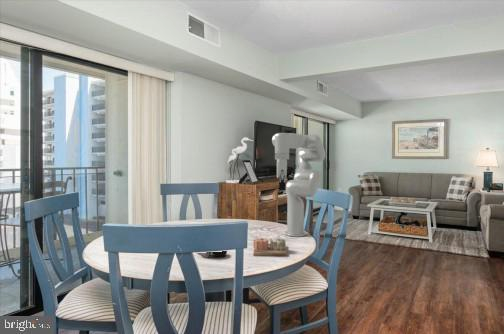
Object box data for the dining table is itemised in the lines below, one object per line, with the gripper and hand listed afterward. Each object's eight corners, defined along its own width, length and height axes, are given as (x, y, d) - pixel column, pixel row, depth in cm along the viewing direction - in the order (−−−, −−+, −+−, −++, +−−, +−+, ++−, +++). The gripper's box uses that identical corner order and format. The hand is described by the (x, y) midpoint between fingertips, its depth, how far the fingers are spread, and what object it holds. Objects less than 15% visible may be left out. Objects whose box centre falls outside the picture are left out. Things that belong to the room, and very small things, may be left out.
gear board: (255, 245, 173) (255, 234, 173) (285, 246, 172) (285, 234, 172) (253, 255, 155) (253, 243, 155) (286, 256, 154) (286, 243, 154)
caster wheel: (228, 260, 157) (214, 263, 148) (209, 251, 163) (195, 253, 154) (231, 246, 157) (218, 248, 148) (213, 238, 162) (199, 239, 154)
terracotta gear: (254, 246, 168) (254, 237, 168) (268, 246, 167) (268, 238, 167) (253, 249, 161) (253, 241, 161) (267, 250, 160) (267, 241, 160)
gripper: (274, 156, 188) (275, 187, 189) (274, 156, 171) (275, 191, 172) (288, 156, 188) (288, 187, 189) (289, 156, 171) (290, 191, 172)
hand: (282, 189), depth 180 cm, fingers open, 9 cm apart
